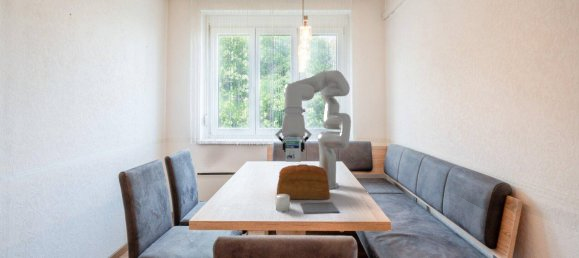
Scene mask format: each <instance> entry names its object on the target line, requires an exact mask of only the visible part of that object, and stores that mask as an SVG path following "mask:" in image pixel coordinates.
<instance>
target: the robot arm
mask: <svg viewBox="0 0 579 258" xmlns="http://www.w3.org/2000/svg"><path fill="white" fill-rule="evenodd" d="M284 86H285V87H284V91H283V94H284V95H283V96H284V114H283V115H282V121H281V122H282V123H281V124H282V125H281V128H280V129H279V130H278V131H277V132H276V133H275V135H274V136H275V137H276V138H277V139H278V140H279V141H280V142H281V143H282V150H283V152H284V153H286V137H287V136H298V137H301V153H303V152H304V151H305V150H306V149H305V147H306V146H305V145H306V142H307V141H308V140H309V138H310V137H311V136H312V135H313V134H312V133H311V132H310V131H309V130H308V129H306V124H305V117H304V114H303V113H306V109H305V108H303V102H305V101H306V102H307V101H312V100H313V99H314V97H315V94H317V93H319V92H320V95H321V97H322V100H323V103H324V109H323V118H322V119H323V120H322V127H323V128H324V129H326V131H325V130H324V131H321V132H320V133H319V134H318V136H317V143H318V149H319V150H318V151H319V152H318V153H319V155H318V156H319V160H318V161H319V165H318V167H321V168H323V169H324V170H325V171H326V173H327V176H328V184H329V190H333V189H337V188H339V183H337V154H336V152H335V151H334V149H335V150H337V149H338V150H345V149H347V148H348V147H349V142H350V137H351V135H350V134H351V127H352V120H351V116H350V115H349V114H348V113H347V112H340V104H339V102H338V100H337V99H336V97H346V96H347V95H349V93H350V84H349V82H348V80H347V79H346V77H345V76H344V74H343V73H342V72H340V71H339V70H337V69H336V70H325V71H320V72H318V73H316V74H313V75H312V76H310V77H305V78H304V79H303V78H302V79H299V80H296V81H294V82H292V83H291V82H290V83H286V84H285V85H284ZM331 130H336V131H331ZM337 130H338V131H337ZM306 134H307V135H306ZM280 135H281V136H280ZM305 135H306V136H305ZM282 136H283V137H282Z"/></svg>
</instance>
